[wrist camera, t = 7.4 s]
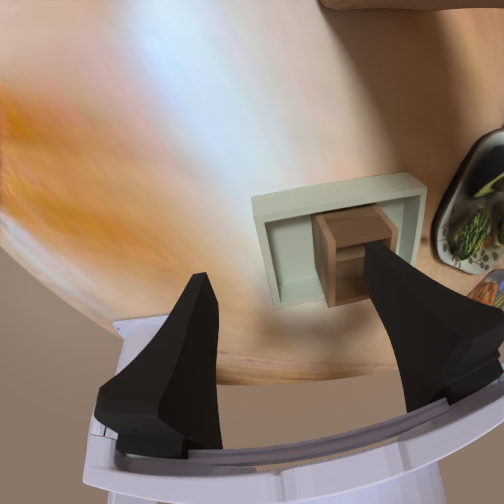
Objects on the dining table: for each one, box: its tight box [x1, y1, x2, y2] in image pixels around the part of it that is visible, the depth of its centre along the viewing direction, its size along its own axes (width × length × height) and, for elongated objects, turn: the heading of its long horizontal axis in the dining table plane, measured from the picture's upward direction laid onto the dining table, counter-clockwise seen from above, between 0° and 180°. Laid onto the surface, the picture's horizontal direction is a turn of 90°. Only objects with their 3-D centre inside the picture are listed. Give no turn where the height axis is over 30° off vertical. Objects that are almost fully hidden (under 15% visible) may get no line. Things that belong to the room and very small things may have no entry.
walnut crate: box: [311, 202, 399, 308], centre depth 20 cm, size 6×5×5 cm
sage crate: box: [251, 172, 427, 309], centre depth 22 cm, size 9×13×3 cm
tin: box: [466, 269, 504, 312], centre depth 27 cm, size 15×3×8 cm, turn 145°
